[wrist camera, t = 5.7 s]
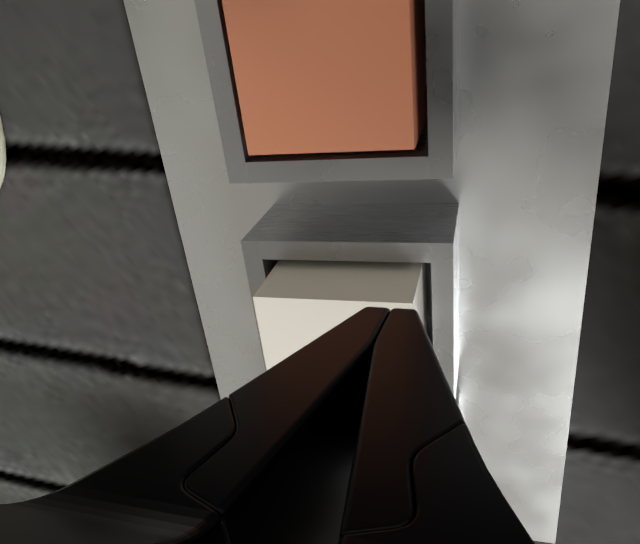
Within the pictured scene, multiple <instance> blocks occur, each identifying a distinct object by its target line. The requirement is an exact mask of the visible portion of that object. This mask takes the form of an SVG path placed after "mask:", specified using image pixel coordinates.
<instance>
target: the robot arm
mask: <svg viewBox="0 0 640 544" xmlns="http://www.w3.org/2000/svg"><path fill="white" fill-rule="evenodd" d="M0 544H535V543H534V542H533V540H532V539H531V537H530V535H529V534H528V532H527V531H526V529H525V528H524V526H523V525H522V523H521V522H520V520H519V519H518V517H517V515H516V514H515V512H514V511H513V509H512V508H511V506H510V505H509V503H508V502H507V500H506V499H505V497H504V495H503V494H502V492H501V490H500V489H499V487H498V485H497V484H496V482H495V480H494V479H493V477H492V475H491V474H490V472H489V470H488V469H487V467H486V465H485V463H484V461H483V459H482V457H481V455H480V453H479V451H478V448H477V446H476V444H475V442H474V440H473V438H472V435H471V433H470V431H469V429H468V426H467V425H466V423H465V420H464V418H463V415H462V413H461V411H460V409H459V406H458V404H457V402H456V399H455V397H454V395H453V392H452V390H451V388H450V385H449V383H448V381H447V379H446V376H445V374H444V372H443V369H442V367H441V365H440V362H439V360H438V358H437V356H436V353H435V351H434V349H433V346H432V344H431V342H430V339H429V337H428V335H427V333H426V330H425V328H424V326H423V323H422V321H421V319H420V316H419V314H418V312H417V311H416V310H415V309H402V308H394V309H392V310H391V311H390V309H388V308H384V307H365V308H363V309H362V310H360V311H359V312H357V313H355V314H354V315H352V316H351V317H349V318H348V319H346V320H345V321H343V322H341V323H340V324H338V325H337V326H335V327H334V328H332V329H331V330H329V331H327V332H326V333H324V334H323V335H321V336H320V337H318V338H317V339H315V340H313V341H312V342H310V343H309V344H307V345H306V346H304V347H303V348H301V349H299V350H298V351H296V352H295V353H293V354H292V355H290V356H289V357H287V358H285V359H284V360H282V361H281V362H279V363H278V364H276V365H275V366H273V367H271V368H270V369H268V370H267V371H265V372H264V373H262V374H260V375H259V376H257V377H256V378H254V379H253V380H251V381H250V382H248V383H246V384H245V385H243V386H242V387H240V388H239V389H237V390H236V391H234V392H232V393H231V394H230V395H229V398H228V397H224V398H223V399H221V400H220V401H218V402H217V403H215V404H213V405H212V406H210V407H209V408H207V409H206V410H204V411H202V412H201V413H199V414H197V415H196V416H194V417H192V418H191V419H189V420H188V421H186V422H184V423H183V424H181V425H179V426H178V427H176V428H174V429H172V430H170V431H169V432H167V433H165V434H163V435H161V436H160V437H158V438H156V439H154V440H152V441H151V442H149V443H147V444H145V445H143V446H141V447H139V448H137V449H136V450H134V451H132V452H130V453H128V454H126V455H124V456H122V457H120V458H119V459H117V460H115V461H113V462H111V463H109V464H107V465H105V466H104V467H102V468H100V469H98V470H96V471H94V472H92V473H90V474H88V475H87V476H85V477H83V478H81V479H79V480H77V481H75V482H73V483H72V484H70V485H68V486H66V487H64V488H61V489H59V490H57V491H55V492H53V493H50V494H47V495H45V496H42V497H39V498H35V499H31V500H28V501H24V502H18V503H11V504H0Z"/></svg>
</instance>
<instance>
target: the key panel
mask: <svg viewBox="0 0 640 544" xmlns="http://www.w3.org/2000/svg"><path fill="white" fill-rule="evenodd" d="M123 1H124V5H125V9H126V13H127V17H128V21H129V25H130V29H131V33H132V38H133V42H134V46H135V50H136V54H137V58H138V62H139V66H140V70H141V74H142V78H143V83H144V87H145V91H146V95H147V99H148V103H149V107H150V111H151V115H152V119H153V124H154V128H155V132H156V136H157V140H158V144H159V148H160V152H161V156H162V160H163V164H164V169H165V173H166V177H167V181H168V185H169V189H170V193H171V197H172V201H173V205H174V210H175V214H176V218H177V222H178V226H179V230H180V234H181V238H182V242H183V246H184V251H185V255H186V259H187V263H188V267H189V271H190V275H191V279H192V283H193V287H194V291H195V296H196V300H197V304H198V308H199V312H200V316H201V320H202V324H203V328H204V332H205V337H206V341H207V345H208V349H209V353H210V357H211V361H212V365H213V369H214V373H215V378H216V382H217V386H218V390H219V394H220V398H221V399H223V398H224V397H228V398H229V395H230V394H231V393H232V392H234V391H236V390H237V389H239V388H240V387H242V386H243V385H245V384H246V383H248V382H250V381H251V380H253V379H254V378H256V377H257V376H259V375H260V374H262V373H264V372H265V371H267V369H266V364H265V359H264V354H263V348H262V343H261V338H260V333H259V328H258V322H257V317H256V312H255V307H254V301H253V296H254V294H255V293H256V291H257V290H258V289H259V287H260V286H261V285H262V283H263V282H264V280H265V279H266V278H267V276H268V275H269V273H270V272H271V271H272V269H273V268H274V266H275V265H276V264H277V262H278V261H279V260H318V261H366V262H413V263H425V264H426V299H427V335H428V337H429V339H430V342H431V344H432V346H433V349H434V351H435V353H436V356H437V358H438V360H439V362H440V365H441V367H442V369H443V372H444V374H445V376H446V379H447V381H448V383H449V385H450V388H451V390H452V392H453V395H454V397H455V399H456V402H457V404H458V406H459V409H460V411H461V413H462V415H463V418H464V420H465V423H466V425H467V426H468V429H469V431H470V433H471V435H472V438H473V440H474V442H475V444H476V446H477V448H478V451H479V453H480V455H481V457H482V459H483V461H484V463H485V465H486V467H487V469H488V470H489V472H490V474H491V475H492V477H493V479H494V480H495V482H496V484H497V485H498V487H499V489H500V490H501V492H502V494H503V495H504V497H505V499H506V500H507V502H508V503H509V505H510V506H511V508H512V509H513V511H514V512H515V514H516V515H517V517H518V519H519V520H520V522H521V523H522V525H523V526H524V528H525V529H526V531H527V532H528V534H529V535H530V537H531V539H532V540H534V541H541V542H547V543H554V544H555V540H556V532H557V523H558V515H559V507H560V498H561V490H562V482H563V473H564V465H565V457H566V448H567V440H568V432H569V423H570V415H571V407H572V398H573V390H574V382H575V373H576V365H577V357H578V348H579V340H580V332H581V323H582V315H583V307H584V298H585V290H586V282H587V273H588V265H589V257H590V248H591V240H592V232H593V223H594V215H595V207H596V198H597V190H598V182H599V173H600V165H601V157H602V148H603V140H604V132H605V123H606V115H607V107H608V98H609V90H610V82H611V73H612V65H613V57H614V48H615V40H616V32H617V23H618V15H619V7H620V0H424V25H425V67H426V109H427V121H426V123H425V125H424V128H423V130H422V133H421V135H420V137H419V140H418V142H417V144H416V147H415V149H412V150H384V151H356V152H328V153H300V154H272V155H248V150H247V144H246V138H245V133H244V127H243V121H242V115H241V109H240V104H239V98H238V92H237V86H236V80H235V75H234V69H233V63H232V57H231V51H230V45H229V40H228V34H227V28H226V22H225V16H224V11H223V5H222V0H123Z"/></svg>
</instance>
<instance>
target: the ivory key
mask: <svg viewBox="0 0 640 544" xmlns="http://www.w3.org/2000/svg"><path fill="white" fill-rule="evenodd" d="M253 301H254V307H255V312H256V317H257V322H258V328H259V333H260V338H261V343H262V348H263V354H264V359H265V364H266V369H267V370H268V369H270V368H271V367H273V366H275V365H276V364H278V363H279V362H281V361H282V360H284V359H285V358H287V357H289V356H290V355H292V354H293V353H295V352H296V351H298V350H299V349H301V348H303V347H304V346H306V345H307V344H309V343H310V342H312V341H313V340H315V339H317V338H318V337H320V336H321V335H323V334H324V333H326V332H327V331H329V330H331V329H332V328H334V327H335V326H337V325H338V324H340V323H341V322H343V321H345V320H346V319H348V318H349V317H351V316H352V315H354V314H355V313H357V312H359V311H360V310H362V309H363V308H365V307H384V308H388V309H390V311H391V310H392V309H394V308H402V309H415V310H416V311H417V312H418V314H419V316H420V319H421V321H422V323H423V326H424V328H425V330H426V333H427V299H426V264H425V263H413V262H366V261H318V260H279V261H278V262H277V264H276V265H275V266H274V268H273V269H272V271H271V272H270V273H269V275H268V276H267V278H266V279H265V280H264V282H263V283H262V285H261V286H260V287H259V289H258V290H257V291H256V293H255V294H254V296H253Z"/></svg>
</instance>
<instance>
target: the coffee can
mask: <svg viewBox="0 0 640 544" xmlns="http://www.w3.org/2000/svg"><path fill="white" fill-rule="evenodd" d="M5 167H6V145H5V136H4V132H3V125H2V120H1V116H0V188H1V186H2V183H3V180H4V176H5Z"/></svg>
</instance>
